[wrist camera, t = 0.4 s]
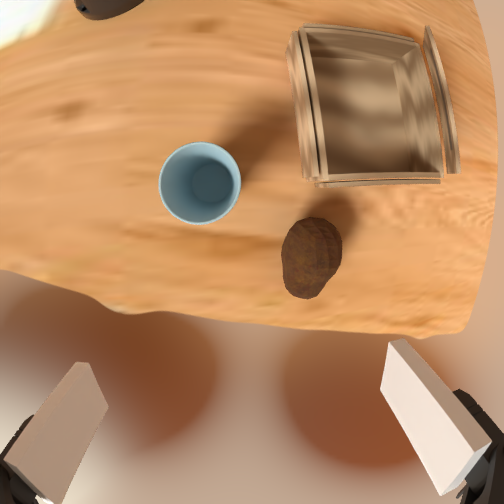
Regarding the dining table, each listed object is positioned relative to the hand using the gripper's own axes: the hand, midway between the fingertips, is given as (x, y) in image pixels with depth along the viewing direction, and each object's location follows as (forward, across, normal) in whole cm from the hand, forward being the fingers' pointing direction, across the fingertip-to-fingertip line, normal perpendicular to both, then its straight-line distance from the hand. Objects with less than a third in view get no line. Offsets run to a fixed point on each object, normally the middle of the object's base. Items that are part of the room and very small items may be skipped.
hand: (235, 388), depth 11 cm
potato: (+27, +8, -1) cm, 29 cm away
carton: (+27, +17, +17) cm, 36 cm away
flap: (+19, +25, +17) cm, 36 cm away
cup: (+27, -3, +8) cm, 29 cm away
